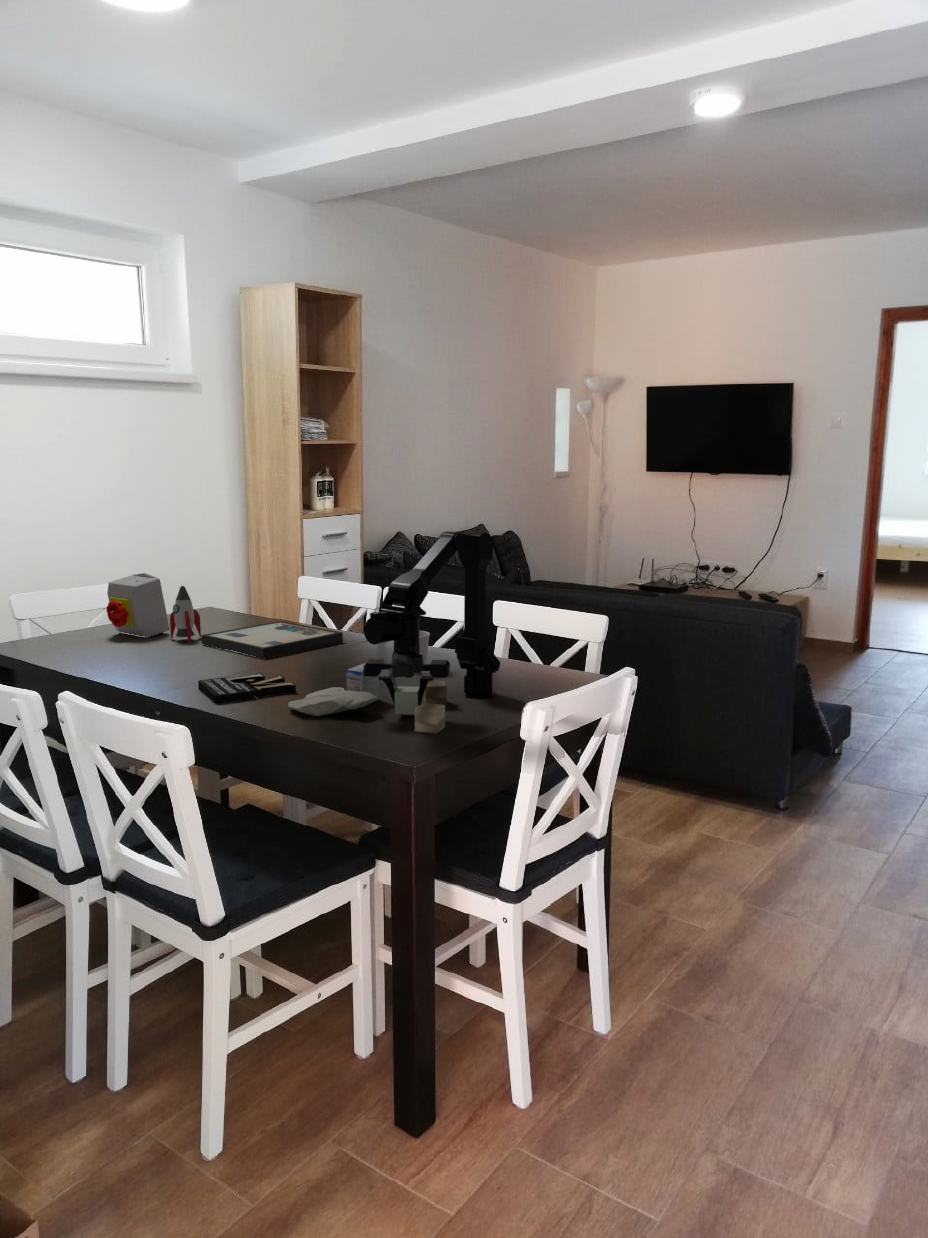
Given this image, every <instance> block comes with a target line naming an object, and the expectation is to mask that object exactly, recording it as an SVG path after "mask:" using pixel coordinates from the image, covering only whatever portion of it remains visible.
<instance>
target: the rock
mask: <svg viewBox="0 0 928 1238" xmlns="http://www.w3.org/2000/svg"><path fill="white" fill-rule="evenodd" d="M376 699H377V696H375V695H373V694H371V693H370V692H355V691H347V690H346V689H345V688H344V687H335V686H334V687H328V688H325V689H321V690H316V691H314V692H311V693H309V694H306V695H305V697H304V698H301V699H295V700H291V701H289V702H288V703H287V705H288V708H289V709H290V710H295V711H297V712H299V713H301V714H305V715H309V716H315V717H320V716H321V717H322V716H326V715H331V714H334V713H335V714H338V713H339V714H340V713H341V712H346V711H353V710H357V709H359V708H363V707H362V706H364V705H366V704H368V705H370V704H372V703H374V702H376V701H375V700H376ZM373 701H374V702H373ZM371 702H372V703H371ZM369 703H370V704H369ZM366 706H367V705H366ZM364 707H365V706H364Z"/></svg>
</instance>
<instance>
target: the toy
mask: <svg viewBox="0 0 928 1238" xmlns="http://www.w3.org/2000/svg"><path fill="white" fill-rule="evenodd" d="M174 603H175V604H173V606H172V612H171V614H170V616H169V630H170V639H171V638H172V639H173V637H174V632H175V630H176V629H177V631H176V634H175V637H176V638H187V640H188V641H187V642H188V644H189V643H190V642H191V643H192V637H194V636H195V635H196V634H195V633H194V630H193V627H194V626H195V628H196V631H197V633H198V635H199V638H200V637H201V638H202V636H201V635H202V628H201V616H200V613H199V611H197V610H196V609H194V605H193V601H192V599H191V597H190V595H189V592H188V591H187V589H186V587H185V585H181V586H180V587H179V590H178V593H177V596H176V598H175V602H174Z"/></svg>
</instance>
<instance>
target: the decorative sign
mask: <svg viewBox="0 0 928 1238" xmlns="http://www.w3.org/2000/svg"><path fill="white" fill-rule="evenodd" d="M197 683H198V684H197V685H198V691H200V693H202V694H203V695H205V697H207V698H208V699H209V700H210V701H212V703H214V704H215V705H221V704H228V703H234V702H241V701H251V700H254V699H255V700H256V698H257V699H262V698H263V696H264V697H270V696H269V695H271V696H277V694H278V695H285V694H284V693H286V694H292V693H295V694H297V685H296V684H295V683H294V682H293V681H290V682H288V681H287V682H286V680H285V677H284V675H283V676H282V675H281V674H278V675H276V676H274V677H269V678H266V676H265V675H264V674H263V673H261V672H259V673H258V672H257V673H256V674H250V675H241V676H233V677H226V676H224V677H217V678H210V679H209V678H208V679H202V680H198V681H197ZM255 696H256V697H255ZM250 699H251V700H250Z"/></svg>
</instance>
